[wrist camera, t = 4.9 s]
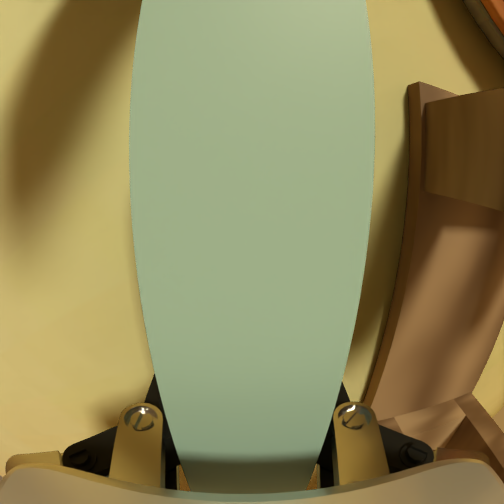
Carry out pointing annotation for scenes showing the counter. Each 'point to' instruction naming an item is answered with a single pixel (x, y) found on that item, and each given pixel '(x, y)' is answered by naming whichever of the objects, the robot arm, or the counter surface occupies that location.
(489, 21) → the pie
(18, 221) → the counter surface
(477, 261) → the post stand
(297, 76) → the rail
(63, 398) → the counter surface
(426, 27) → the counter surface
